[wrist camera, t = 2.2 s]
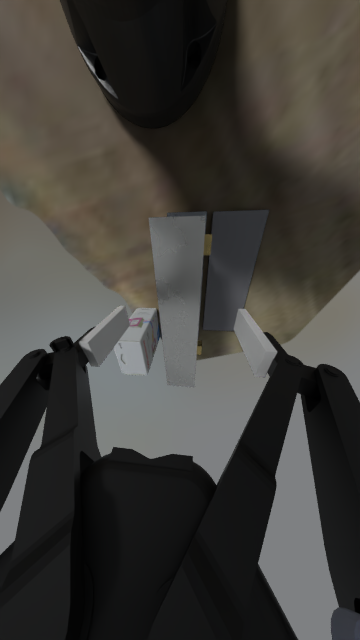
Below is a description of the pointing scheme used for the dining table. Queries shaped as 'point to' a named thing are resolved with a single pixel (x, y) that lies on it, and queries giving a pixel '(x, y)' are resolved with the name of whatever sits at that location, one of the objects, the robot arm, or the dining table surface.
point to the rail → (179, 291)
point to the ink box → (138, 342)
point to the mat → (231, 265)
